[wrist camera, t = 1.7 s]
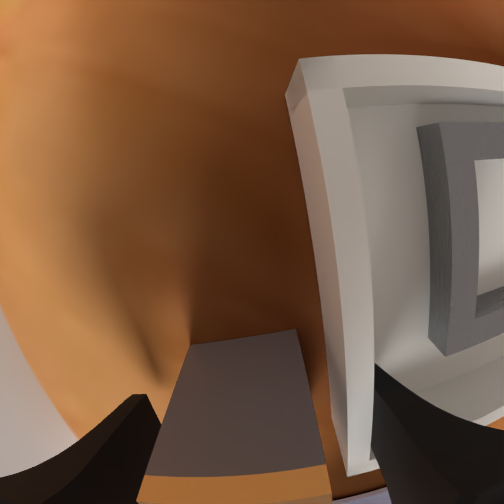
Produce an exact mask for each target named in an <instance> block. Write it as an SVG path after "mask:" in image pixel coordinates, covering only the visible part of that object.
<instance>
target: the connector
mask: <svg viewBox="0 0 504 504" xmlns="http://www.w3.org/2000/svg"><path fill="white" fill-rule="evenodd" d="M136 501H137V502H138V503H139V504H332V491H331V486H330V481H329V476H328V471H327V466H326V462H325V457H324V452H323V447H322V442H321V438H320V433H319V428H318V424H317V419H316V414H315V410H314V405H313V401H312V396H311V392H310V387H309V383H308V378H307V374H306V369H305V365H304V361H303V356H302V352H301V348H300V343H299V339H298V335H297V331H296V329H292V330H286V331H280V332H275V333H269V334H263V335H257V336H251V337H244V338H238V339H231V340H224V341H217V342H210V343H202V344H194V345H190V347H189V349H188V352H187V355H186V358H185V360H184V363H183V366H182V369H181V371H180V374H179V377H178V380H177V383H176V385H175V388H174V391H173V394H172V397H171V399H170V402H169V405H168V408H167V411H166V414H165V417H164V419H163V422H162V425H161V428H160V431H159V434H158V437H157V440H156V443H155V446H154V448H153V451H152V454H151V457H150V460H149V463H148V466H147V469H146V472H145V475H144V478H143V481H142V484H141V487H140V491H139V494H138V497H137V500H136Z"/></svg>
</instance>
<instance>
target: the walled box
mask: <svg viewBox="0 0 504 504" xmlns="http://www.w3.org/2000/svg"><path fill="white" fill-rule="evenodd" d="M285 98H286V102H287V107H288V112H289V116H290V121H291V126H292V131H293V136H294V140H295V146H296V151H297V156H298V161H299V166H300V172H301V177H302V183H303V188H304V194H305V200H306V206H307V212H308V218H309V224H310V230H311V237H312V243H313V250H314V257H315V264H316V271H317V279H318V286H319V294H320V302H321V310H322V319H323V327H324V336H325V346H326V356H327V367H328V378H329V390H330V403H331V417H332V421H333V425H334V429H335V432H336V436H337V440H338V444H339V447H340V451H341V455H342V459H343V462H344V466H345V470H346V474H347V477H350V476H354V475H358V474H361V473H365V472H369V471H373V470H376V469H379V468H380V467H379V465H378V462H377V460H376V458H375V456H374V453H373V451H372V449H371V435H372V420H373V399H374V363H376V364H377V365H378V366H379V367H381V368H382V369H383V370H384V371H385V372H387V373H388V374H389V375H390V376H392V377H393V378H394V379H396V380H397V381H398V382H400V383H401V384H402V385H404V386H405V387H406V388H408V389H409V390H411V391H412V392H414V393H415V394H417V395H418V396H420V397H421V398H423V399H424V400H426V401H428V402H429V403H431V404H433V405H434V406H436V407H438V408H440V409H442V410H444V411H446V412H449V413H451V414H453V415H455V416H457V417H460V418H462V419H465V420H468V421H471V422H474V423H477V424H480V425H483V426H486V425H488V424H490V423H492V422H494V421H495V420H497V419H499V418H501V417H502V416H504V333H502V334H500V335H498V336H496V337H494V338H491V339H489V340H487V341H484V342H482V343H480V344H477V345H475V346H472V347H470V348H467V349H465V350H462V351H460V352H457V353H455V354H452V355H449V356H447V357H445V356H444V355H443V354H442V353H441V352H440V351H439V349H438V348H437V347H436V346H435V345H434V344H433V343H432V342H431V341H430V340H429V338H428V327H429V308H430V246H429V226H428V212H427V201H426V191H425V182H424V174H423V167H422V160H421V153H420V147H419V141H418V135H417V130H416V127H420V126H424V125H429V124H434V123H439V122H495V123H504V66H499V65H493V64H488V63H482V62H476V61H469V60H461V59H453V58H444V57H433V56H419V55H396V54H360V55H336V56H321V57H310V58H300V59H299V60H298V62H297V65H296V67H295V70H294V72H293V75H292V78H291V80H290V83H289V85H288V88H287V91H286V93H285ZM474 163H475V171H476V181H477V193H478V210H479V272H478V289H477V295H480V294H483V293H486V292H489V291H492V290H494V289H497V288H500V287H503V286H504V158H503V159H487V160H474Z"/></svg>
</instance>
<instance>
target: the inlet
mask: <svg viewBox="0 0 504 504" xmlns="http://www.w3.org/2000/svg"><path fill="white" fill-rule="evenodd" d="M416 130H417V135H418V141H419V147H420V153H421V160H422V167H423V174H424V182H425V191H426V201H427V212H428V226H429V246H430V308H429V327H428V338H429V340H430V341H431V342H432V343H433V344H434V345H435V346H436V347H437V348H438V349H439V351H440V352H441V353H442V354H443V355H444V356H445V357H447V356H449V355H452V354H455V353H457V352H460V351H462V350H465V349H467V348H470V347H472V346H475V345H477V344H480V343H482V342H484V341H487V340H489V339H491V338H494V337H496V336H498V335H500V334H502V333H504V286H503V287H500V288H497V289H494V290H492V291H489V292H486V293H483V294H480V295H477V289H478V272H479V210H478V193H477V181H476V171H475V163H474V160H487V159H503V158H504V123H495V122H439V123H434V124H429V125H424V126H420V127H416Z"/></svg>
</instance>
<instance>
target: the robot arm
mask: <svg viewBox="0 0 504 504" xmlns="http://www.w3.org/2000/svg"><path fill="white" fill-rule="evenodd" d="M160 428H161V423H160V421H159V419H158V417H157V415H156V413H155V411H154V409H153V407H152V405H151V403H150V401H149V399H148V397H147V395H146V394H132V395H131V396H130V397H129V398H127V399H126V400H125V401H124V402H123V403H122V404H120V405H119V406H118V407H117V408H116V409H115V410H114V411H113V412H112V413H111V414H109V415H108V416H107V417H106V418H105V419H104V420H103V421H102V422H101V423H99V424H98V425H97V426H96V427H95V428H94V429H92V430H91V431H90V432H89V433H87V434H86V435H85V436H84V437H82V438H81V439H80V440H79V441H77V442H76V443H75V444H73V445H72V446H71V447H69V448H67V449H66V450H64V451H63V452H61V453H60V454H58V455H56V456H54V457H53V458H51V459H49V460H47V461H45V462H43V463H41V464H39V465H37V466H35V467H32V468H30V469H27V470H25V471H22V472H19V473H16V474H13V475H9V476H5V477H1V478H0V504H139V503H138V502H137V501H136V500H137V497H138V494H139V491H140V487H141V484H142V481H143V478H144V475H145V472H146V469H147V466H148V463H149V460H150V457H151V454H152V451H153V448H154V446H155V443H156V440H157V437H158V434H159V431H160ZM371 449H372V451H373V453H374V456H375V458H376V460H377V462H378V465H379V467H380V469H381V472H382V474H383V477H384V479H385V482H386V485H387V487H385V488H382V489H378V490H375V491H371V492H368V493H364V494H360V495H356V496H352V497H348V498H344V499H339V500H335V501H332V504H504V430H500V429H495V428H491V427H487V426H483V425H480V424H477V423H474V422H471V421H468V420H465V419H462V418H460V417H457V416H455V415H453V414H451V413H449V412H446V411H444V410H442V409H440V408H438V407H436V406H434V405H433V404H431V403H429V402H428V401H426V400H424V399H423V398H421V397H420V396H418V395H417V394H415V393H414V392H412V391H411V390H409V389H408V388H406V387H405V386H404V385H402V384H401V383H400V382H398V381H397V380H396V379H394V378H393V377H392V376H390V375H389V374H388V373H387V372H385V371H384V370H383V369H382V368H381V367H379V366H378V365H377V364H376V363H374V399H373V420H372V435H371Z"/></svg>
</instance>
